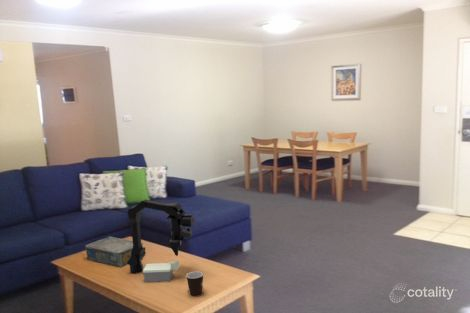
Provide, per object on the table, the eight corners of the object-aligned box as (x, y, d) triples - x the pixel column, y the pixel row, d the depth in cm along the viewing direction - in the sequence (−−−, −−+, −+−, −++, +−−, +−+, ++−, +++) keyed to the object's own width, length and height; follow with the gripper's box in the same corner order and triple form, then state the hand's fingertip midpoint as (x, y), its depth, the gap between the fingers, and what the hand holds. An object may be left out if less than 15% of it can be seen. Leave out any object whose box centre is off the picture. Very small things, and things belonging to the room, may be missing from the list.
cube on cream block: (143, 274, 233) (142, 266, 232) (147, 267, 242) (146, 259, 242) (177, 273, 232) (176, 265, 231) (180, 266, 241) (179, 258, 241)
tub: (144, 283, 234) (143, 272, 233) (148, 276, 243) (147, 265, 242) (170, 282, 233) (169, 271, 232) (173, 275, 242) (172, 265, 241)
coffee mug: (197, 298, 213) (196, 279, 212) (184, 295, 217) (182, 276, 216) (211, 289, 223) (209, 270, 221) (197, 286, 227) (196, 268, 226)
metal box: (110, 249, 293) (109, 235, 292) (145, 256, 276) (143, 242, 274) (85, 260, 276) (83, 245, 274) (120, 268, 258) (118, 253, 257)
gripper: (188, 230, 229) (190, 258, 231) (192, 220, 247) (194, 246, 250) (167, 231, 229) (169, 259, 231) (173, 221, 248) (175, 247, 250)
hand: (178, 252), depth 240 cm, fingers open, 9 cm apart
